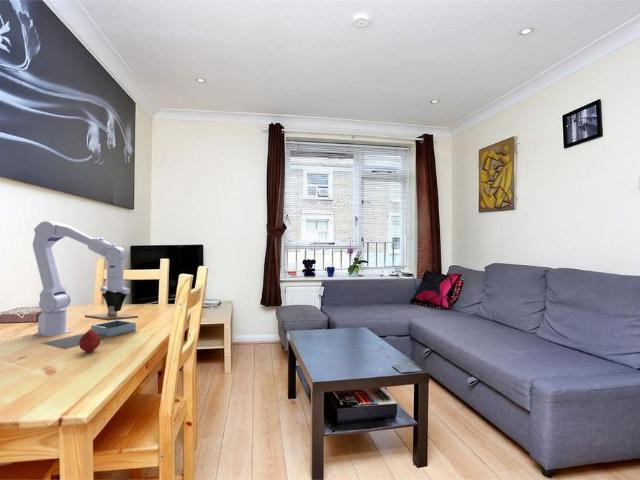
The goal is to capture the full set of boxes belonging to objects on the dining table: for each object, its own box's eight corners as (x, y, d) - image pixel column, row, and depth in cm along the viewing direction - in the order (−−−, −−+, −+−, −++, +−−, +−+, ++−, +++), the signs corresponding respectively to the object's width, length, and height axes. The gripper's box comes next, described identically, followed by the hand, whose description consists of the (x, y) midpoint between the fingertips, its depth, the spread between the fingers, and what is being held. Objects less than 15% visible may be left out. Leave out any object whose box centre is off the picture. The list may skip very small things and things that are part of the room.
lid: (84, 317, 131) (86, 306, 131) (115, 314, 143) (116, 304, 143) (108, 320, 126) (110, 309, 127) (137, 317, 138) (139, 307, 139)
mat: (40, 344, 119) (40, 343, 119) (82, 334, 131) (82, 333, 131) (64, 350, 113) (64, 349, 113) (105, 339, 126) (105, 338, 126)
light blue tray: (91, 334, 132) (91, 325, 132) (117, 328, 142) (117, 319, 142) (109, 337, 128) (109, 328, 128) (135, 331, 138) (135, 322, 138)
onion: (89, 356, 107) (89, 331, 107) (74, 355, 108) (75, 330, 108) (104, 350, 113) (105, 327, 113) (90, 349, 114) (90, 326, 114)
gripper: (93, 276, 134) (92, 310, 134) (118, 278, 129) (117, 314, 129) (110, 275, 141) (109, 307, 141) (134, 277, 135) (133, 310, 135)
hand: (114, 310), depth 135 cm, fingers closed on lid, 3 cm apart
